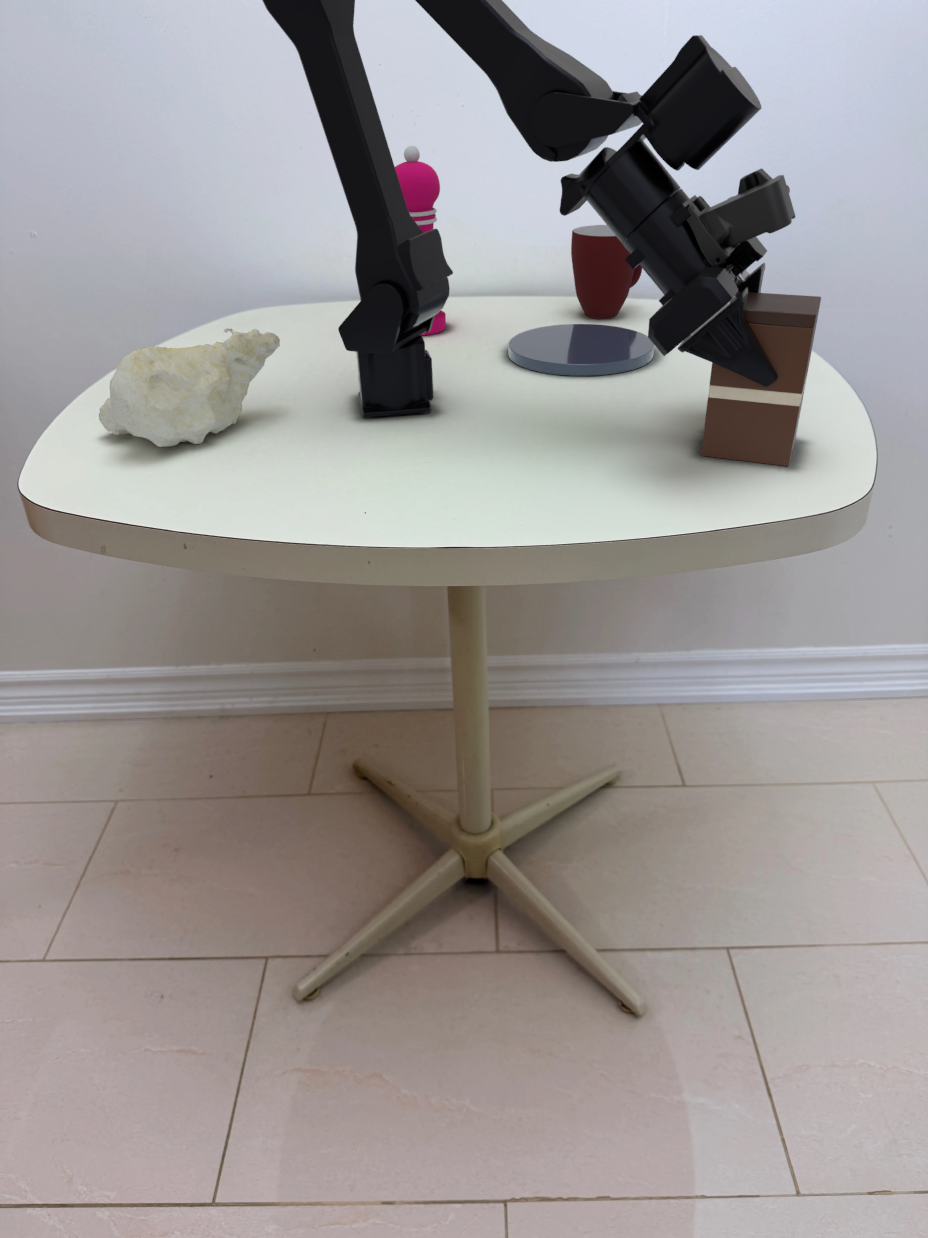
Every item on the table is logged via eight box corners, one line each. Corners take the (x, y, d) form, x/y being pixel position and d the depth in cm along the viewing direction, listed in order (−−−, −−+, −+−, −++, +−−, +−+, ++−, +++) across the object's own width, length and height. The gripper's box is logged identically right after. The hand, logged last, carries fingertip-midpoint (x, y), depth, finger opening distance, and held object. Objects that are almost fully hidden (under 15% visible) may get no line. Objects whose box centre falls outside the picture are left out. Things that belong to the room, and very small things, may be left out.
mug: (606, 300, 120) (610, 219, 114) (657, 310, 115) (664, 225, 110) (555, 316, 113) (558, 231, 108) (607, 327, 109) (612, 238, 103)
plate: (526, 381, 92) (526, 369, 92) (495, 339, 106) (495, 329, 105) (675, 369, 94) (676, 357, 94) (626, 329, 108) (627, 319, 107)
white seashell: (93, 489, 77) (196, 388, 69) (54, 415, 77) (152, 307, 70) (218, 477, 90) (316, 391, 83) (184, 414, 91) (278, 323, 83)
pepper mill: (461, 325, 111) (456, 143, 100) (428, 339, 106) (419, 149, 95) (413, 318, 115) (403, 141, 104) (379, 332, 109) (365, 147, 99)
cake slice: (700, 455, 75) (718, 307, 68) (711, 432, 79) (729, 290, 72) (788, 466, 72) (816, 314, 66) (794, 441, 77) (821, 296, 70)
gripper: (713, 145, 57) (863, 335, 59) (756, 122, 71) (875, 276, 74) (588, 269, 64) (726, 435, 66) (650, 226, 78) (761, 363, 81)
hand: (777, 371), depth 71 cm, fingers closed on cake slice, 5 cm apart
